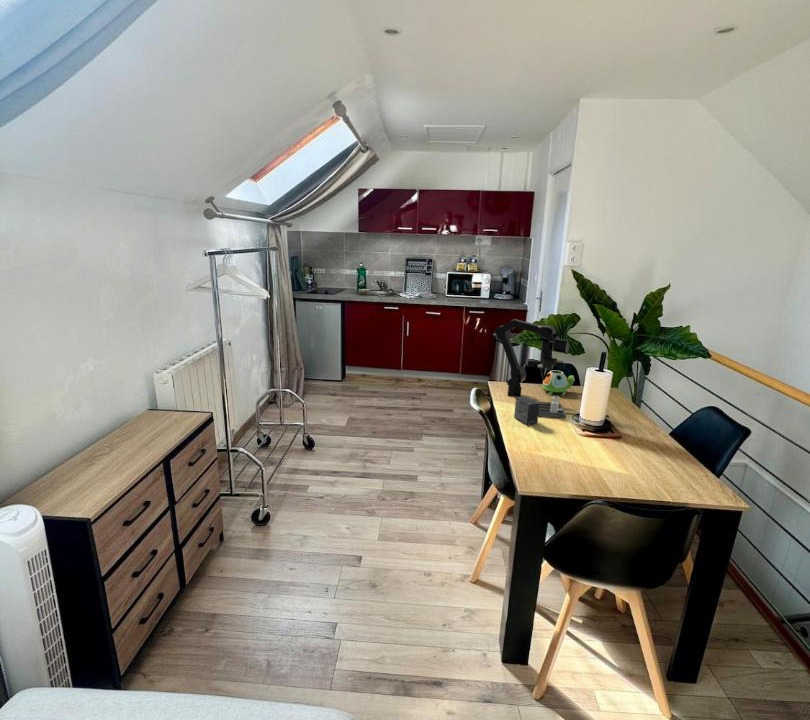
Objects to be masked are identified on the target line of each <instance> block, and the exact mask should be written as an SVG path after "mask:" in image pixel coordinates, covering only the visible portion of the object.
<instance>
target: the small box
mask: <svg viewBox="0 0 810 720" xmlns="http://www.w3.org/2000/svg"><path fill="white" fill-rule="evenodd" d="M536 401H537V400H534V399H532V398H530V397H528V396H520V397H515V402H514V403H515V404H514V405H515V406H514V416H513V419H515V420H517V421H518V422H521V424H523V425H524V426H534V425H537V424H538V420H539V416H538V413H539V404H540V403H538V402H536Z"/></svg>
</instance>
